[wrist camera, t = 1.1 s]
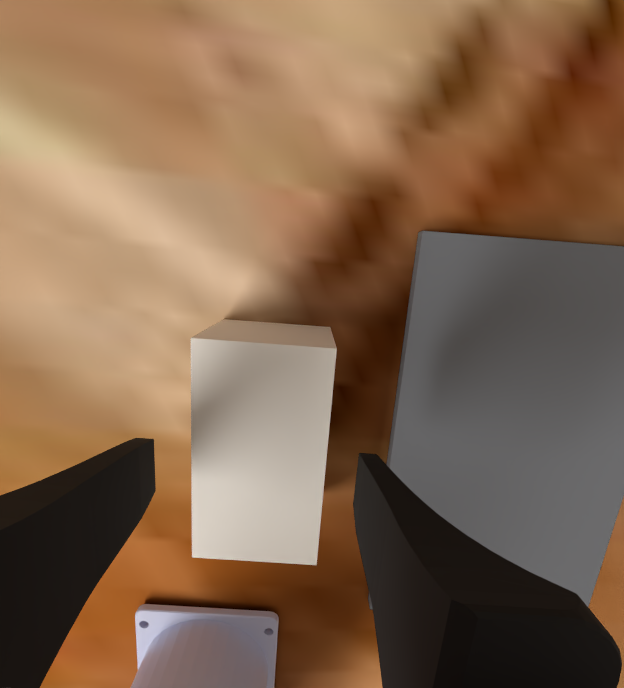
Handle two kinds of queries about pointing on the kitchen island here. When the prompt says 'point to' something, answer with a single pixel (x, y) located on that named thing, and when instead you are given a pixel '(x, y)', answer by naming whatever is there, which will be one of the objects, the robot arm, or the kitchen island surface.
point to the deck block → (260, 439)
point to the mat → (516, 397)
